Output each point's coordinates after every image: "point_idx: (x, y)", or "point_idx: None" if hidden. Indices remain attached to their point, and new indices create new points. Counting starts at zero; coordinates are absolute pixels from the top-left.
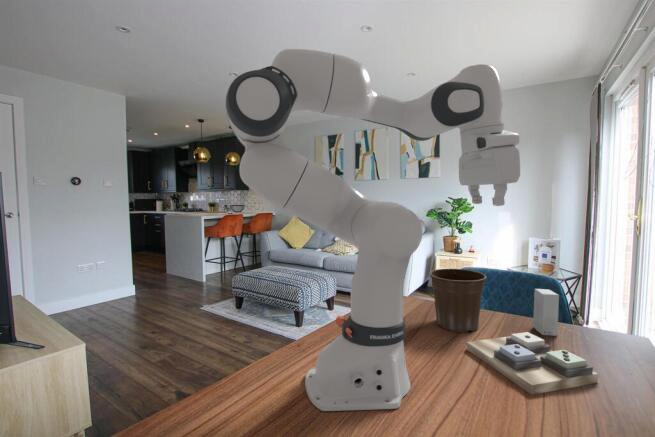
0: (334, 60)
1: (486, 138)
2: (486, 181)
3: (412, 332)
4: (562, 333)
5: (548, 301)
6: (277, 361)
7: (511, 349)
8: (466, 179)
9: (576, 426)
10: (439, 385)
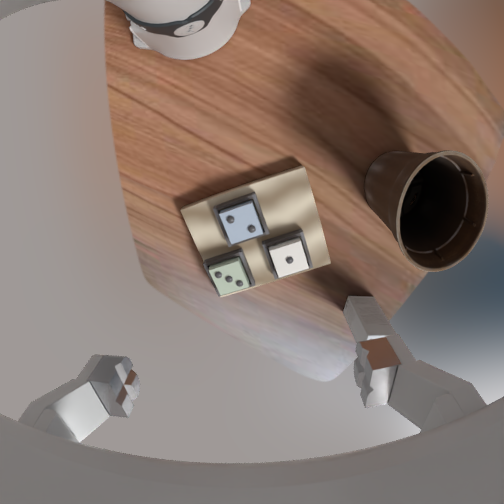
0: None
1: None
2: (44, 448)
3: (363, 94)
4: None
5: (361, 334)
6: None
7: (242, 216)
8: (496, 451)
9: (136, 224)
10: (189, 96)
